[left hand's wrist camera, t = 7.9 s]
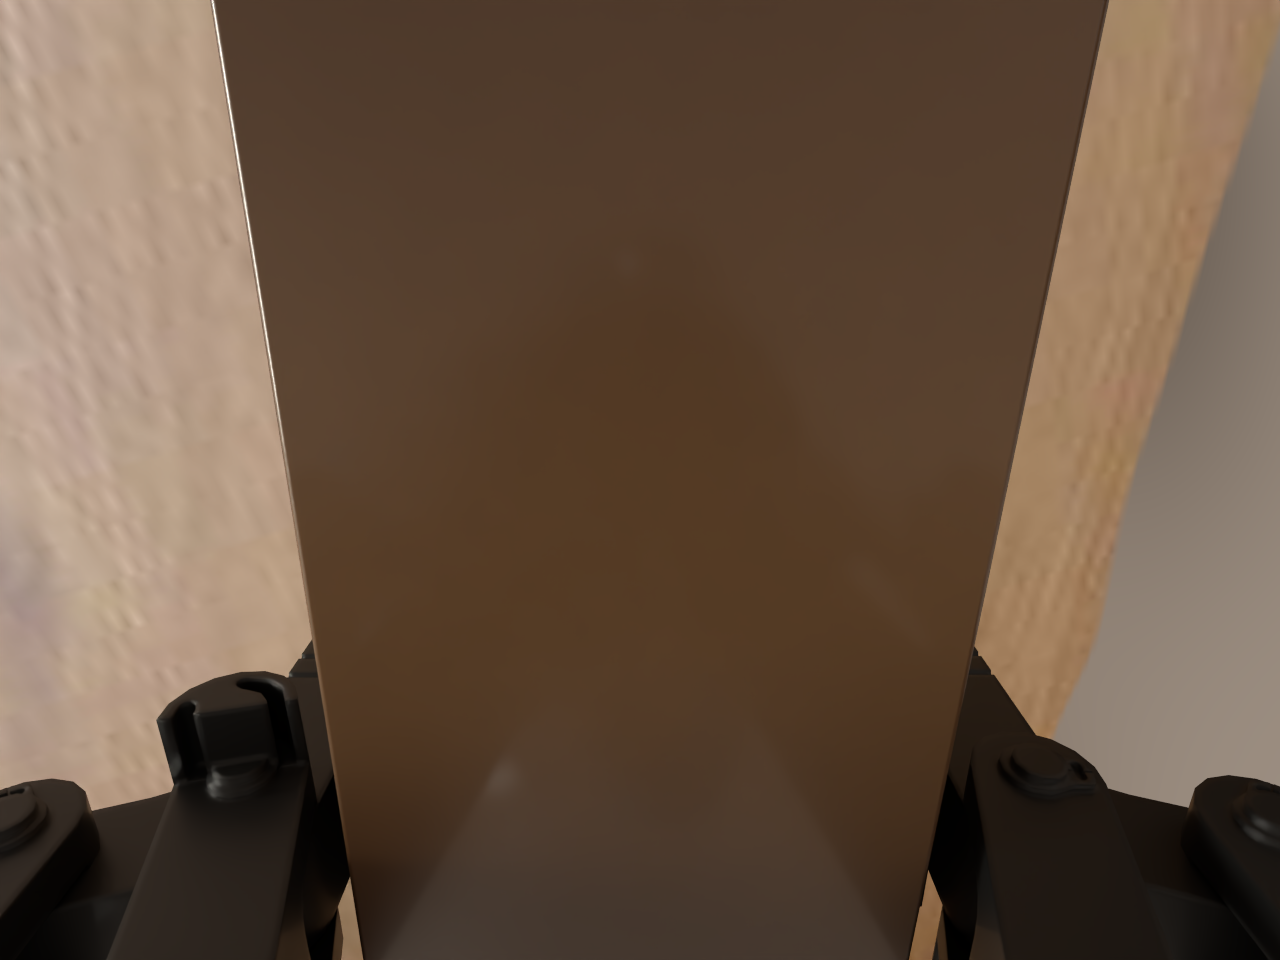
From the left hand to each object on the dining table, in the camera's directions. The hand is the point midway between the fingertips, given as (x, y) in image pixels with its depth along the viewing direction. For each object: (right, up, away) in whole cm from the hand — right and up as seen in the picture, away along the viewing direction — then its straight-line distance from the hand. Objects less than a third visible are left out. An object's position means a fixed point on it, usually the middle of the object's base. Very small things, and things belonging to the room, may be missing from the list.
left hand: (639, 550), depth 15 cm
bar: (0, +25, -9) cm, 27 cm away
